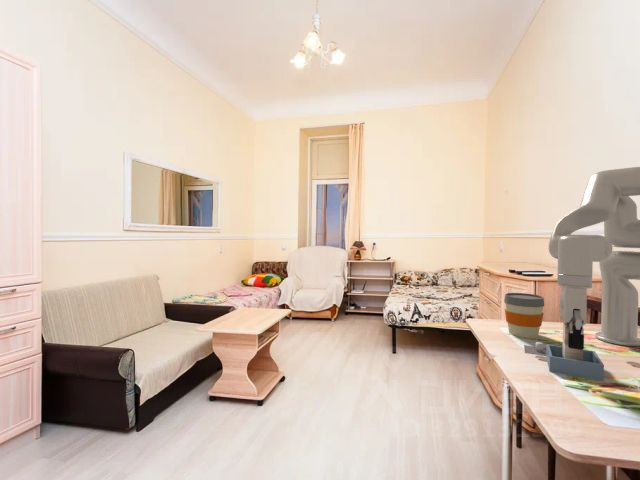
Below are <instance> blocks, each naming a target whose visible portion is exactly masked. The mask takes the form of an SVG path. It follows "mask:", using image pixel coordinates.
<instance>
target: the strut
mask: <svg viewBox="0 0 640 480" xmlns="http://www.w3.org/2000/svg"><path fill="white" fill-rule="evenodd" d="M572 327H573V325H572ZM584 330H585V328H583V331H584ZM568 332H569V333H570V328H569V324H564V323H563V322H562V347H563V350H562V358H567V359H573V360H580V361H583V350H584V349H583V350H579V349H572V348H569V347H568Z"/></svg>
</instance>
